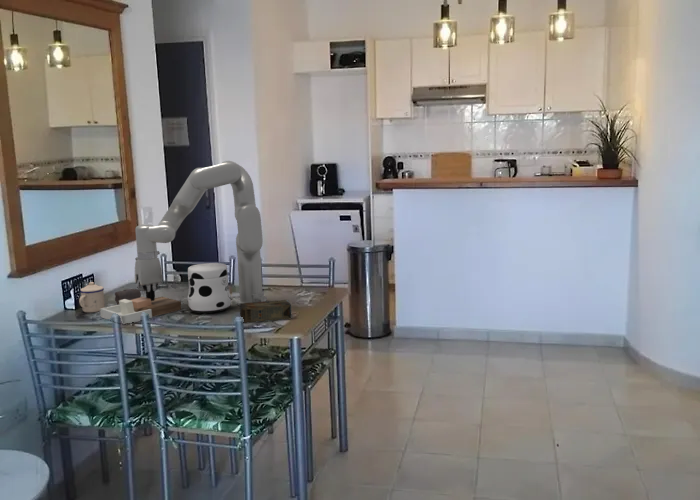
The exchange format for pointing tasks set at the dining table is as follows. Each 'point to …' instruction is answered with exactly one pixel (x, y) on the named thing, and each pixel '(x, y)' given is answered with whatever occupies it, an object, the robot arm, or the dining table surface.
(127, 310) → the cream tile
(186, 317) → the dining table surface
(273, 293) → the dining table surface
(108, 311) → the tray
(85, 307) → the teacup with lid
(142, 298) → the terracotta tile
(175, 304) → the brown square slab
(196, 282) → the milk container
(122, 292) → the perforated stone tool
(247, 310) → the beverage carton
